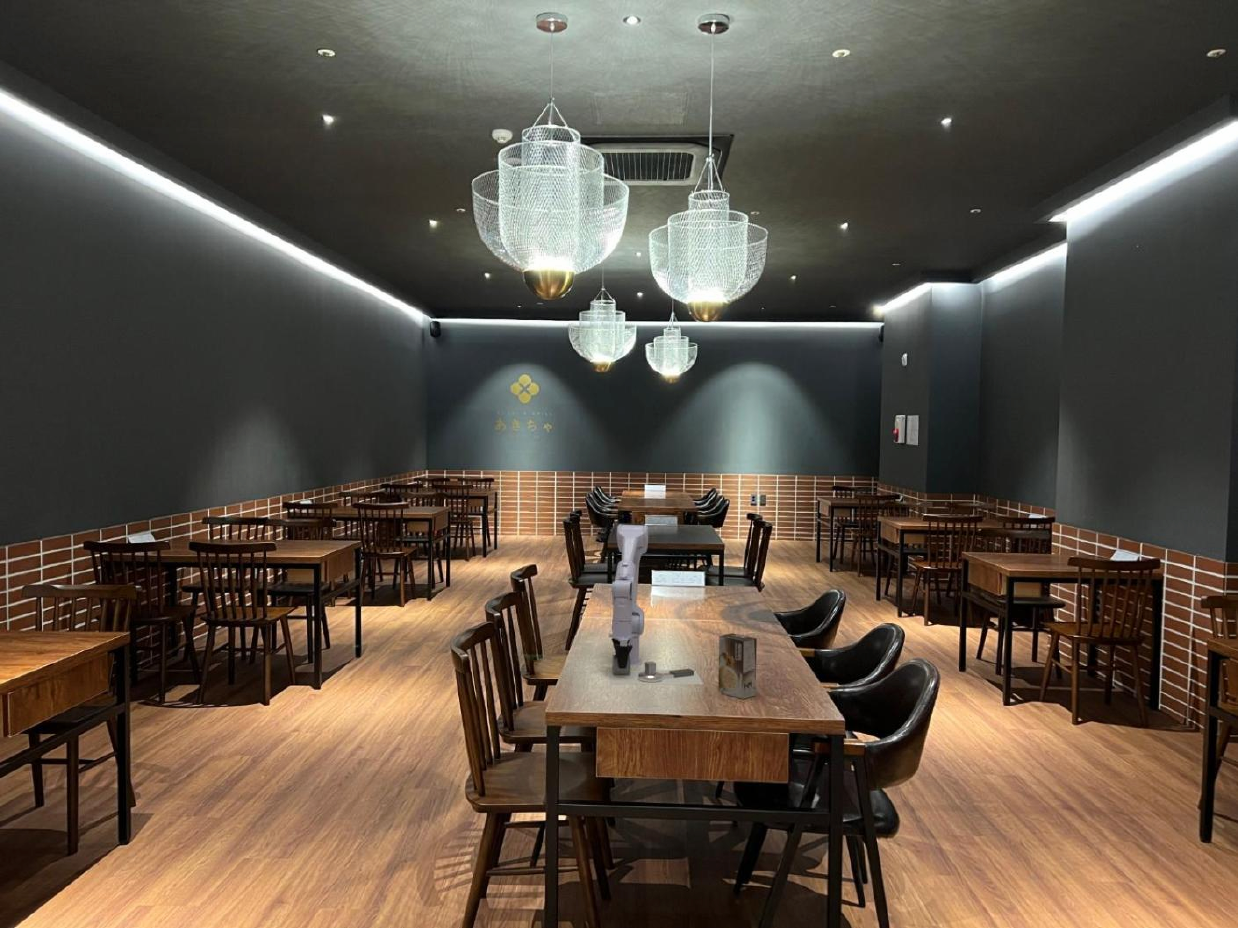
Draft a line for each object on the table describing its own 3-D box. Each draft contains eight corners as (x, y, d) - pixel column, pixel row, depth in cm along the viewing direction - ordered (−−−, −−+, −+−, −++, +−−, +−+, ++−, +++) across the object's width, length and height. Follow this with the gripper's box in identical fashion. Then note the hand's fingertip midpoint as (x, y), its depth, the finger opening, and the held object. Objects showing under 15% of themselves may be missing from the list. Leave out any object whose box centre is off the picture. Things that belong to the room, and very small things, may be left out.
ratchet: (633, 677, 257) (634, 661, 257) (684, 671, 266) (685, 655, 266) (646, 683, 251) (646, 666, 251) (698, 677, 260) (698, 660, 259)
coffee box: (757, 695, 243) (758, 638, 243) (743, 699, 239) (744, 641, 238) (730, 688, 250) (732, 632, 250) (716, 692, 245) (718, 635, 245)
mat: (607, 671, 266) (607, 669, 266) (694, 671, 268) (694, 670, 268) (610, 685, 250) (610, 683, 250) (703, 685, 252) (703, 684, 252)
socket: (612, 671, 264) (612, 654, 264) (628, 671, 265) (629, 654, 265) (613, 675, 259) (613, 658, 259) (630, 675, 260) (630, 658, 260)
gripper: (607, 615, 269) (606, 659, 269) (610, 624, 254) (609, 670, 254) (630, 615, 269) (629, 659, 269) (634, 624, 255) (633, 671, 255)
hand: (621, 665), depth 262 cm, fingers open, 7 cm apart
